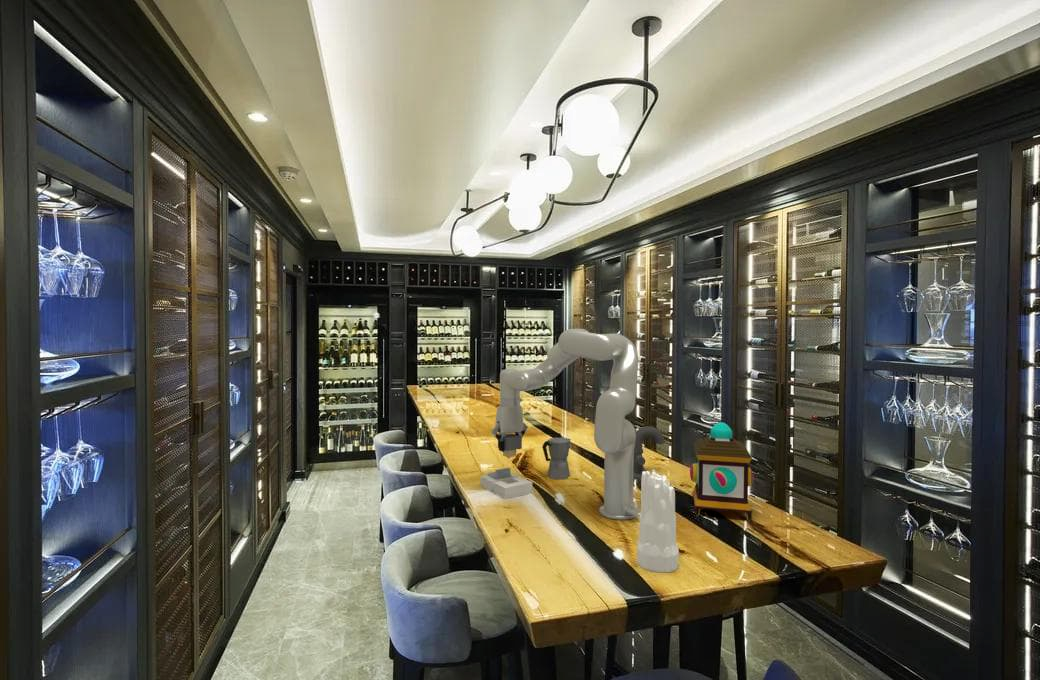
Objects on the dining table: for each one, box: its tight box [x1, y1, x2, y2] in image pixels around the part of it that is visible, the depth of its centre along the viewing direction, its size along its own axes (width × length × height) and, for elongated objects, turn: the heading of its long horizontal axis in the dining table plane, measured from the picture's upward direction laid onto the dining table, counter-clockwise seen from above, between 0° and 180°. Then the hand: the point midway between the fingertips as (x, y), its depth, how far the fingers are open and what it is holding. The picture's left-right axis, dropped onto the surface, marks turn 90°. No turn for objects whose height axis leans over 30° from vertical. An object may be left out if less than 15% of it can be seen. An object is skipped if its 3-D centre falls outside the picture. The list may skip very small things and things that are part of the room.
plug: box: [502, 433, 523, 458], centre depth 198 cm, size 6×6×8 cm
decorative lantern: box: [689, 422, 754, 522], centre depth 178 cm, size 20×20×30 cm
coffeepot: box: [542, 432, 571, 480], centre depth 216 cm, size 15×9×18 cm, turn 129°
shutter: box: [486, 467, 511, 479], centre depth 205 cm, size 7×7×3 cm
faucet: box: [633, 425, 666, 480], centre depth 221 cm, size 18×16×20 cm
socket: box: [480, 472, 533, 500], centre depth 201 cm, size 18×12×4 cm, turn 34°
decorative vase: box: [636, 468, 680, 573], centre depth 139 cm, size 11×11×25 cm
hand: (509, 449), depth 198 cm, fingers closed on plug, 6 cm apart
